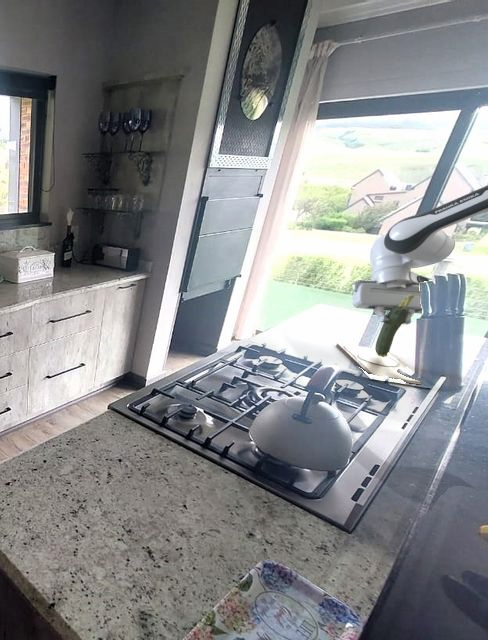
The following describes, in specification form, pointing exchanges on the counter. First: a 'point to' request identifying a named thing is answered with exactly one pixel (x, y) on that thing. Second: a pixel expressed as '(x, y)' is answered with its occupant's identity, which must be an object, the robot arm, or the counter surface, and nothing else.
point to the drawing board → (376, 362)
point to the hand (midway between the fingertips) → (395, 322)
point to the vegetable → (392, 326)
